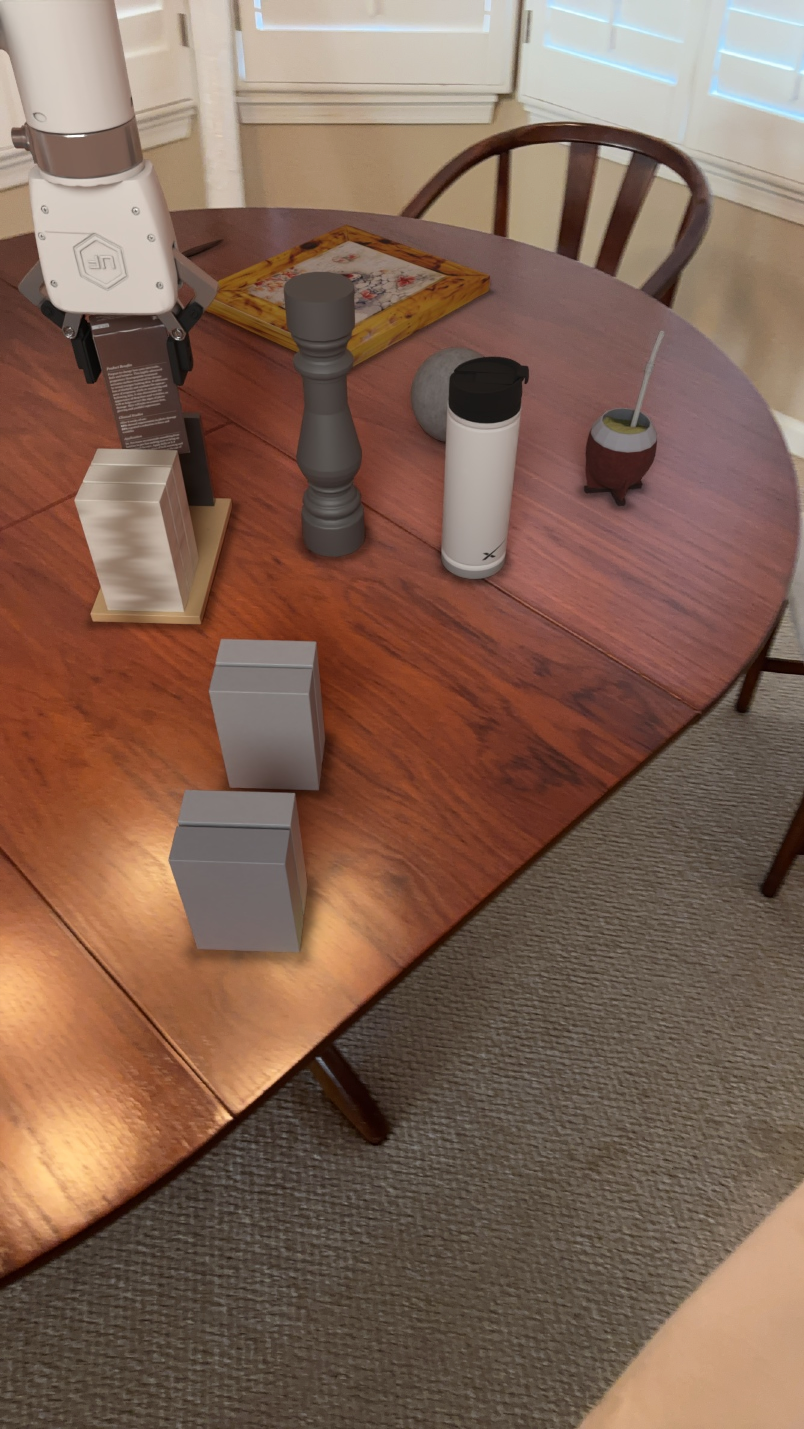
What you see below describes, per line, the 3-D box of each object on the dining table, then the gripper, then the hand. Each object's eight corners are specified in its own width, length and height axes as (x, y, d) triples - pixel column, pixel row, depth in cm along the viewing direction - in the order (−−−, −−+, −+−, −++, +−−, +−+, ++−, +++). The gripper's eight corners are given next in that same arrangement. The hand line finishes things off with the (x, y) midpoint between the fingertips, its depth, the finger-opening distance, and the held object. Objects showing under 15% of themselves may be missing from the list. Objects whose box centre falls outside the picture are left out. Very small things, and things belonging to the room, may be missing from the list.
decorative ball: (395, 447, 105) (395, 363, 98) (431, 405, 111) (434, 322, 104) (477, 469, 102) (484, 384, 95) (511, 425, 108) (519, 341, 101)
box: (182, 429, 89) (158, 302, 80) (191, 454, 86) (167, 325, 77) (117, 440, 87) (86, 312, 78) (124, 466, 84) (92, 336, 75)
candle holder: (360, 515, 97) (351, 267, 78) (369, 553, 93) (362, 301, 74) (300, 521, 96) (277, 272, 77) (306, 560, 92) (283, 306, 73)
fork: (229, 245, 142) (227, 231, 140) (142, 278, 134) (139, 264, 132) (218, 240, 143) (216, 226, 141) (131, 273, 135) (128, 258, 134)
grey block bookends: (197, 949, 64) (167, 860, 56) (239, 736, 77) (220, 638, 69) (299, 953, 64) (285, 864, 56) (325, 738, 77) (316, 640, 68)
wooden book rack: (92, 621, 86) (53, 503, 76) (136, 503, 98) (108, 388, 88) (201, 624, 86) (176, 506, 76) (232, 506, 98) (214, 390, 88)
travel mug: (504, 584, 90) (526, 390, 75) (436, 576, 90) (443, 382, 75) (511, 544, 94) (532, 352, 79) (445, 536, 94) (454, 345, 80)
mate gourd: (590, 511, 97) (615, 375, 86) (569, 468, 103) (590, 335, 91) (659, 504, 98) (693, 369, 87) (635, 462, 103) (664, 329, 92)
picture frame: (490, 275, 130) (341, 355, 115) (488, 290, 132) (342, 372, 116) (346, 224, 142) (194, 291, 126) (347, 239, 143) (197, 307, 128)
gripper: (-50, 163, 66) (26, 397, 79) (197, 166, 65) (232, 401, 79) (-14, 127, 71) (51, 353, 84) (216, 130, 70) (245, 357, 84)
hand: (138, 375), depth 81 cm, fingers closed on box, 6 cm apart
